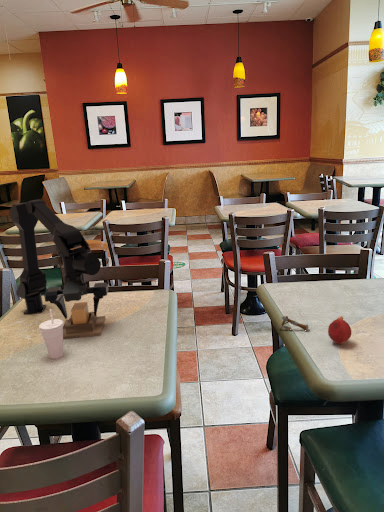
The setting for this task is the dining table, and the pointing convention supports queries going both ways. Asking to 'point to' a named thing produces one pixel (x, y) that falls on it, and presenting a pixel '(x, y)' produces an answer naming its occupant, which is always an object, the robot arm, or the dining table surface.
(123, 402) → the dining table surface
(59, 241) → the robot arm
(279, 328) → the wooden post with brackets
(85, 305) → the tan rectangular block
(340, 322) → the onion
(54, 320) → the smoothie
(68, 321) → the chassis
